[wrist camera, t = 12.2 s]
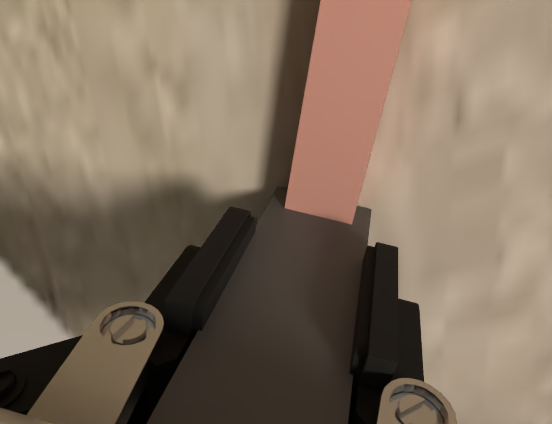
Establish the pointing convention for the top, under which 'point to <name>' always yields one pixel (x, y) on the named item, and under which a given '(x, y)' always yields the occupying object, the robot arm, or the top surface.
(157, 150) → the top surface
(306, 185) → the rake
